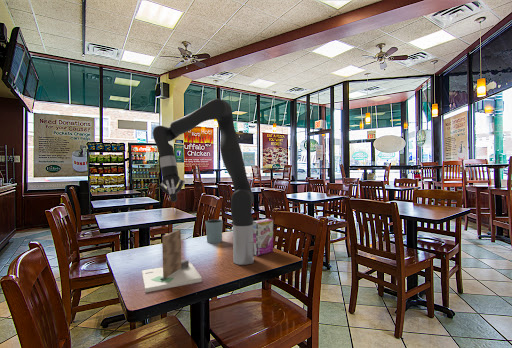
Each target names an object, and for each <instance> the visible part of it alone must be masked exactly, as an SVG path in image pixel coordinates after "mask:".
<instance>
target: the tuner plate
mask: <svg viewBox="0 0 512 348" xmlns="http://www.w3.org/2000/svg"><path fill="white" fill-rule="evenodd" d="M141 276H142V281H143V287H144V292H145V294H146V293H150V292H155V291H161V290H166V289H171V288H175V287H176V288H177V287H182V286H188V285H192V284H196V283H201V282H202V280H203V279H202V276H201V275H200V274H199V271H197V269H196V268H195V267H194V265H193V264H192V262H189V266H188V267H187V268H181V269H179V270H178V271H176V272H174V273H173V274H171V275H170V276H168V277H167V278H165V279H164V280H160V279H161V278H163V266H161V267H157V268H156V267H155V268H150V269H144V270H141Z"/></svg>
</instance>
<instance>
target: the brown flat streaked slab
mask: <svg viewBox="0 0 512 348" xmlns="http://www.w3.org/2000/svg"><path fill="white" fill-rule="evenodd" d="M181 235H182V234H181V229H177V230H174V231H172V232H169V233H167V234H163V235H162V236H161V237H162V239H161V242H162V243H161V244H162V267H163V278H161V279H160V280H164V279H165V278H167V277H168V276H170V275H171V274H173V273H174V272H176V271H178V270H179V269H181V268H187V267H188V266H189V263H190V262H189V261H190V260H187V259H182V243H181V242H182V240H181V238H182V237H181Z"/></svg>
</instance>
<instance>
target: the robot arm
mask: <svg viewBox="0 0 512 348" xmlns="http://www.w3.org/2000/svg"><path fill="white" fill-rule="evenodd" d="M232 110H233V109H232V107H231V105H230V104H229V102H227V101H226V100H224V99H221V98H214V99H211V100H210V101H208V102H206V103H205V104H203V105H202V106H201V107H199V108H198V109H196V110H194V111H193V112H190V113H189V114H186V115H185V116H182V117H179V118H177V119H175V120H173V121H172V122H171V123H170V125H169V127H167V126H163V125H156V126H155V127H154V128H153V130H152V137H153V141H154V143H155V145H156V147H157V150H158V156H159V165H160V170H161V171H160V172H161V177H162V178H161V183H160V184H158V187H159V189H160V190H161V191H162V192H164V193H165V194H167V195H169V199H170V201H171V202H172V203H176V202H177V201H178V193H179V192H180V191H181V190H182V188H183V186H184V184H185V182H186V181H185V180H184V179H181V178H180V176H179V171H178V163H177V160H176V156H175V149H174V146H173V144H170V143H169V142H173V141H174V140H175V139H177V138H178V137H180V135H183V134H185V133H188V132H190V131H192V130H194V129H195V128H196V127H197V126H198V125H200V124H202V123H204V122H206V121H211V120H216V123H217V125H218V128H219V133H220V139H219V140H220V141H219V149H220V155H221V158H222V162H223V165H224V167H225V170H226V172H227V173H228V174H229V177H230V179H231V181H232V185H233V190H234V192H233V193H232V195H231V197H230V212H231V213H230V215H231V220H232V249H233V250H232V255H233V256H232V257H233V258H232V260H233V261H232V262H233V263H234V264H236V265H239V266H240V265H241V266H245V265H251V264H252V265H253V264H254V262H255V255H254V239H253V221H254V218H253V216H252V205H253V204H254V202H255V197H254V196H255V195H254V192H253V190H252V187H251V185H250V182H249V179H248V176H247V172H246V166H245V161H244V158H243V153H242V149H241V145H240V142H239V138H238V135H237V132H236V127H235V123H234V122H235V121H234V117H233V111H232ZM165 186H166V187H165Z"/></svg>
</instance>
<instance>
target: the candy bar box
mask: <svg viewBox="0 0 512 348" xmlns="http://www.w3.org/2000/svg"><path fill="white" fill-rule="evenodd" d="M253 239H254V257H255V256H256V257H258V256H262V255H266V254H269V253H272V252H274V219H270V218H264V219H258V220H253Z"/></svg>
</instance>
